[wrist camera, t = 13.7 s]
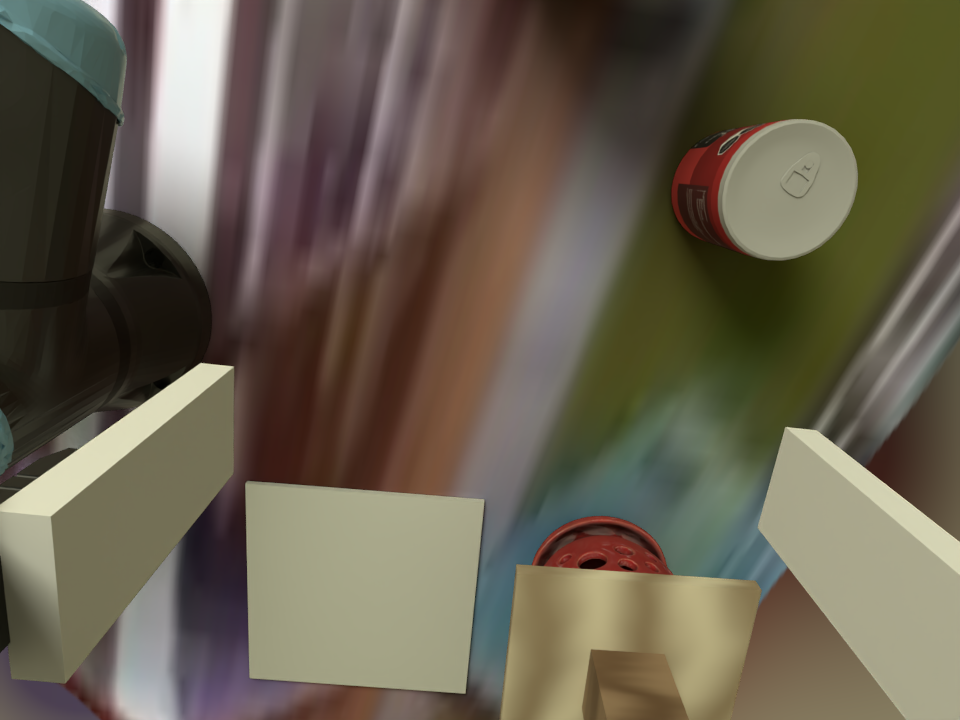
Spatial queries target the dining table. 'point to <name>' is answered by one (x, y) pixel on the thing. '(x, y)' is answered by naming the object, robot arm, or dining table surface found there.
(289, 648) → the mat
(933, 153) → the dining table surface
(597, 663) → the lid
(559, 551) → the plant pot
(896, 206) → the dining table surface
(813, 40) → the dining table surface
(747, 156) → the canned food
